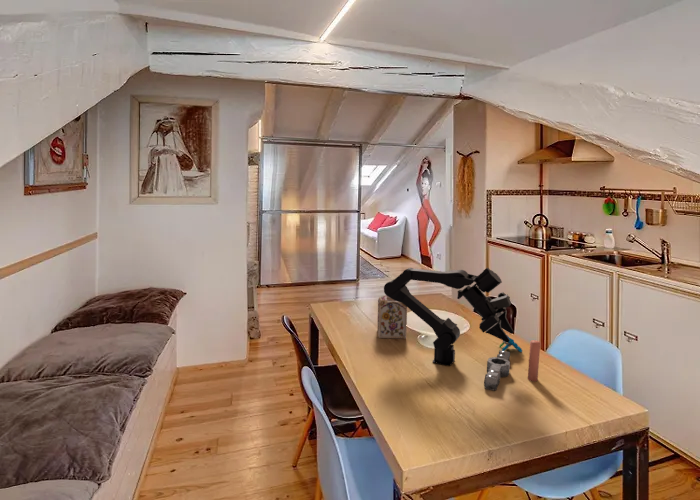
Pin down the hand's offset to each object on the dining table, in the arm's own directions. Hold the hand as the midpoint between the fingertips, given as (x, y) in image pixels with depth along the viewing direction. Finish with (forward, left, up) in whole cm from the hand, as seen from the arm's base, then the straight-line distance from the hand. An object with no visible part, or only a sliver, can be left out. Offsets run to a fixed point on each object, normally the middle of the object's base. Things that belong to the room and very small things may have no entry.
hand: (510, 337), depth 142 cm
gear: (-3, +23, -14) cm, 27 cm away
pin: (+8, 0, -13) cm, 15 cm away
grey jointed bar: (-3, 0, -13) cm, 14 cm away
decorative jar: (-50, +18, -13) cm, 55 cm away
